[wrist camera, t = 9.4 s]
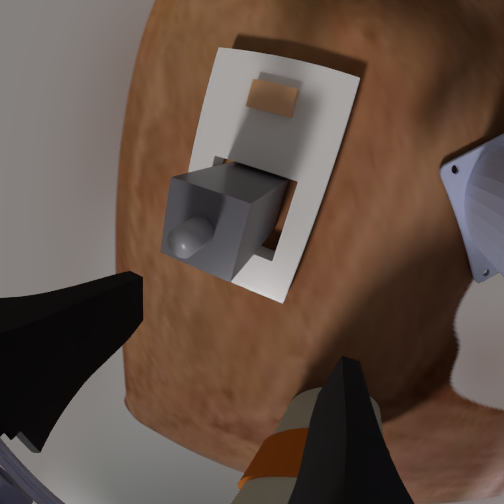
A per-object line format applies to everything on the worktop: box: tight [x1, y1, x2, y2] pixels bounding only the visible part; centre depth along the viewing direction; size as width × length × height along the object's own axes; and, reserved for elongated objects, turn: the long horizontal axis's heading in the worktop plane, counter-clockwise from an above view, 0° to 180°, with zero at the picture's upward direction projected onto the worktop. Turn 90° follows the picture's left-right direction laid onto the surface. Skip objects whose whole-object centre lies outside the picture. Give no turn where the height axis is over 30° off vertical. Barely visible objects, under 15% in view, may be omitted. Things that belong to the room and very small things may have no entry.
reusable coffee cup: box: [231, 387, 390, 504], centre depth 16 cm, size 13×13×15 cm
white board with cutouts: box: [188, 47, 360, 303], centre depth 16 cm, size 14×8×2 cm, turn 165°
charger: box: [161, 162, 289, 282], centre depth 14 cm, size 4×4×8 cm
